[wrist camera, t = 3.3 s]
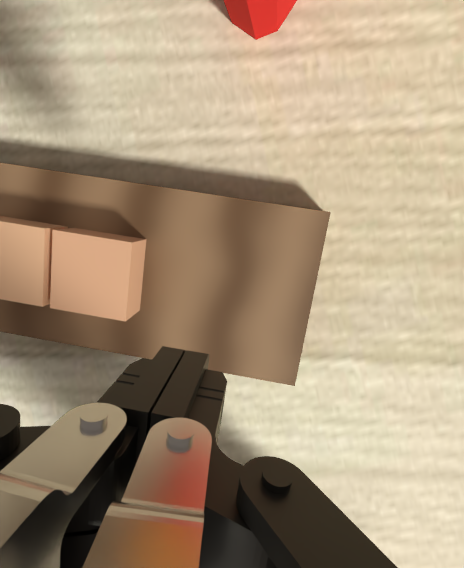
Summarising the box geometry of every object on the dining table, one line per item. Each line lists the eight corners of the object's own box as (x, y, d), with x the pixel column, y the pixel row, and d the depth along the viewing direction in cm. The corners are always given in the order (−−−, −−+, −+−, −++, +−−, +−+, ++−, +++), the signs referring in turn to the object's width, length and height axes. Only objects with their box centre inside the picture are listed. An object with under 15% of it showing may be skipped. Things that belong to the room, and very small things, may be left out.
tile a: (146, 239, 23) (132, 242, 21) (139, 310, 24) (125, 321, 22) (74, 227, 23) (52, 229, 21) (71, 298, 25) (50, 308, 22)
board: (324, 212, 24) (330, 212, 22) (292, 369, 27) (294, 385, 24) (11, 165, 26) (-16, 160, 23) (10, 318, 28) (-14, 328, 26)
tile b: (67, 226, 23) (44, 228, 21) (64, 297, 25) (42, 306, 22) (-2, 215, 24) (-33, 215, 21) (-2, 285, 25) (-31, 293, 22)
